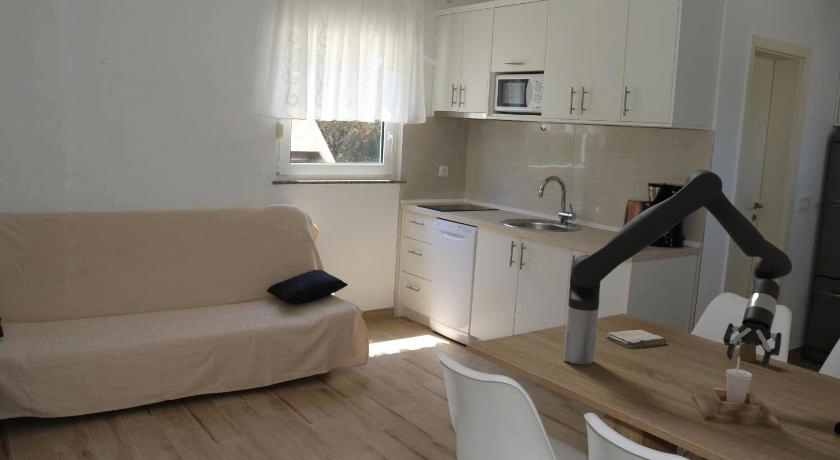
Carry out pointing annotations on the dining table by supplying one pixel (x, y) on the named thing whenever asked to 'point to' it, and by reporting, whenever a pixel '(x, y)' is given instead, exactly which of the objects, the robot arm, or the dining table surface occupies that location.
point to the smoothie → (737, 384)
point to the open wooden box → (734, 409)
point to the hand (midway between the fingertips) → (746, 361)
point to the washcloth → (635, 338)
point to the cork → (747, 352)
